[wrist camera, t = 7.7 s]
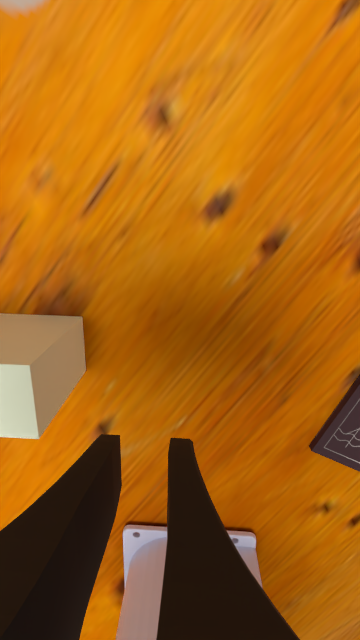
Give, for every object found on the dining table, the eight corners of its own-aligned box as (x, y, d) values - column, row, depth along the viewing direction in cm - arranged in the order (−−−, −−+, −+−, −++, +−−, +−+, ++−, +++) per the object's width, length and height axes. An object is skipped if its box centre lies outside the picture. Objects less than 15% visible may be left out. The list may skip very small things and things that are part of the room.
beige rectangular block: (82, 316, 19) (29, 365, 13) (86, 370, 20) (39, 438, 14) (-18, 312, 20) (-117, 358, 13) (-9, 366, 21) (-97, 431, 14)
